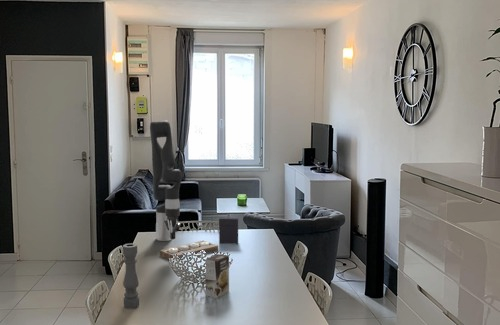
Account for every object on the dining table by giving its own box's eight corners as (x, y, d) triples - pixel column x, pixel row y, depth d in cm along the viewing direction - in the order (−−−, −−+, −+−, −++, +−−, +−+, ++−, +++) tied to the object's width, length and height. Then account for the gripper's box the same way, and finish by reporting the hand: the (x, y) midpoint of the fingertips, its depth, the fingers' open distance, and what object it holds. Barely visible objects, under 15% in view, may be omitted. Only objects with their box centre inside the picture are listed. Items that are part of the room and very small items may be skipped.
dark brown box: (238, 242, 290) (238, 217, 289) (237, 244, 286) (237, 219, 284) (220, 241, 291) (220, 217, 290) (219, 243, 287) (218, 218, 285)
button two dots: (167, 253, 261) (166, 248, 261) (174, 251, 265) (174, 247, 264) (172, 255, 258) (171, 250, 258) (179, 253, 261) (179, 249, 261)
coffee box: (217, 298, 205) (217, 261, 203) (205, 295, 209) (204, 258, 207) (229, 291, 213) (229, 255, 211) (217, 288, 216) (217, 253, 214)
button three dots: (188, 248, 271) (188, 243, 271) (195, 246, 274) (195, 242, 274) (193, 250, 267) (193, 245, 267) (200, 248, 271) (200, 244, 270)
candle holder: (125, 302, 200) (123, 243, 197) (140, 302, 201) (139, 243, 198) (122, 309, 194) (120, 247, 191) (138, 308, 195) (136, 247, 192)
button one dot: (198, 247, 276) (198, 243, 275) (205, 246, 279) (205, 241, 279) (203, 249, 272) (203, 244, 272) (210, 247, 275) (210, 243, 275)
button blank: (177, 251, 266) (177, 246, 266) (185, 249, 269) (185, 244, 269) (183, 253, 263) (182, 248, 262) (190, 251, 266) (190, 246, 266)
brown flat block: (159, 255, 264) (159, 250, 264) (202, 245, 283) (202, 240, 283) (174, 261, 254) (174, 256, 253) (218, 250, 273) (218, 245, 273)
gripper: (159, 206, 261) (160, 237, 263) (173, 209, 251) (173, 242, 253) (171, 204, 266) (171, 235, 268) (185, 207, 256) (185, 240, 258)
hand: (172, 238), depth 260 cm, fingers closed
